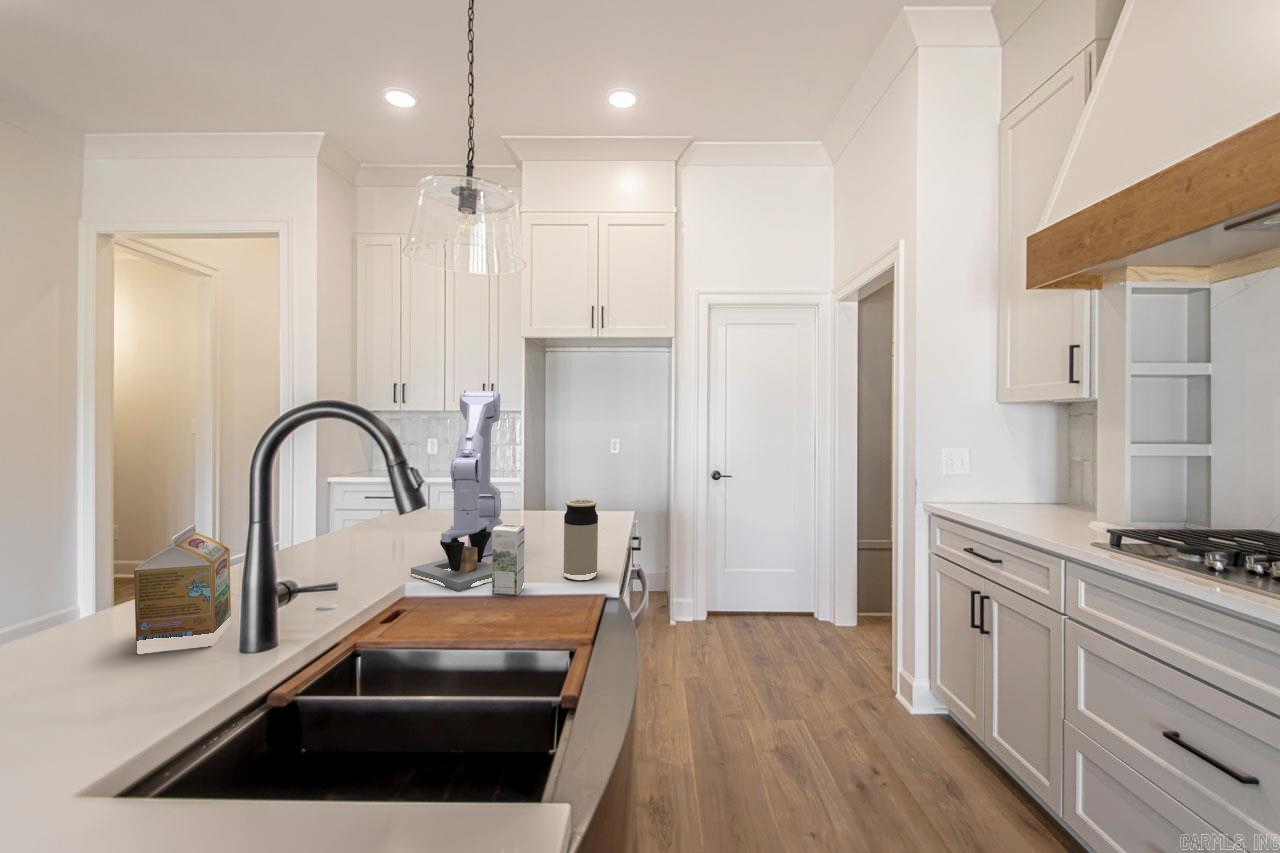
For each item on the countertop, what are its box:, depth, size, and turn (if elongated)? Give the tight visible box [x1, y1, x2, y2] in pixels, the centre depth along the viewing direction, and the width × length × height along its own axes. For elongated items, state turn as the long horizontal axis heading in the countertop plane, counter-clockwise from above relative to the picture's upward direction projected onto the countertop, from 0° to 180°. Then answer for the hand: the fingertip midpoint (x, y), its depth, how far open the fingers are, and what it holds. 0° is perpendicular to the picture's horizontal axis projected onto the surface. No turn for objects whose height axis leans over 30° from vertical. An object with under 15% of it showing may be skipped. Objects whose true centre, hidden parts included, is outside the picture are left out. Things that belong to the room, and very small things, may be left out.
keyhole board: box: [410, 557, 492, 593], centre depth 142 cm, size 14×18×2 cm
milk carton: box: [133, 524, 232, 642], centre depth 104 cm, size 11×11×19 cm
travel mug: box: [563, 498, 599, 575], centre depth 143 cm, size 8×8×18 cm
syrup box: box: [491, 523, 526, 596], centre depth 132 cm, size 6×6×14 cm
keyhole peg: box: [456, 545, 477, 573], centre depth 141 cm, size 4×4×6 cm
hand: (466, 566), depth 141 cm, fingers open, 7 cm apart
